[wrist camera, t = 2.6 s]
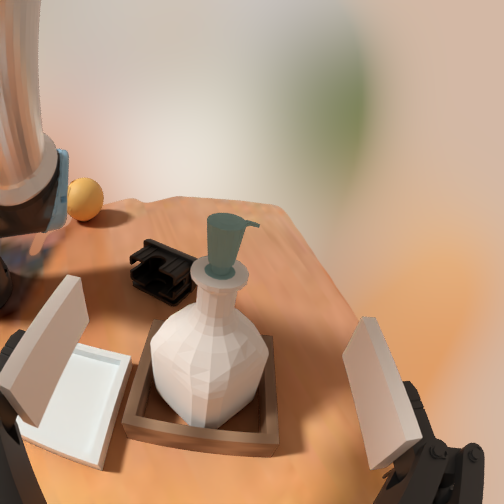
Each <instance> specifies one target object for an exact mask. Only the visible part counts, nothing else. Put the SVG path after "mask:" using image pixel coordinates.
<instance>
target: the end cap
mask: <svg viewBox="0 0 504 504" xmlns="http://www.w3.org/2000/svg"><path fill="white" fill-rule="evenodd" d="M196 260H197V258H195V257H193V256H190V255H188V254H185V253H183V252H181V251H178V250H176V249H173V248H171V247H169V246H166V245H164V244H162V243H159V242H157V241H154V240H152V239H146V240H144V248H142V249H140V250H139V251H137V252H136V253H134V254H132V255H131V256H130V264H131V265H132V264H134V263H135V262H137V261H139V262H141V263H140V264H139V265H138V266H136V267H135V268H133V269H132V270H130V274H131V279H132V280H133V286H134V287H136V288H138V289H140V290H141V291H143V292H145V293H147V294H149V295H151V296H153V297H155V298H157V299H159V300H161V301H163V302H165V303H166V304H168V305H170V306H173V307H174V306H177V305H178V304H179V303H180V302H181V301H182V300H183V299H184V298H185V297H187V296H188V295H189V293H190V292H192V291H193V290H194V288H195V287H196V285H197V284H196V283H195V282H194V281H193V280H192V278H191V272H190V271H191V266H192V264H193V262H194V261H196Z"/></svg>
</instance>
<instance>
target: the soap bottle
mask: <svg viewBox="0 0 504 504" xmlns="http://www.w3.org/2000/svg"><path fill="white" fill-rule="evenodd" d="M247 226H254V227H258V228H259V226H260V224H258V223H255V222H252V221H248V220H246V221H245V220H244V219H243V218H241V217H239V216H237V215H234V214H229V213H216V214H212V215H210V216H209V217H208V218H207V240H208V256H204V257H200V258H199V259H197V260H196V261H194V262H193V264H192V266H191V271H190V272H191V278H192V280H193V281H194V282H195V283H196V284H197V285H198V287H197V299H196V303H192V304H189V305H187V306H186V307H184V308H183V309H181V310H179V311H178V312H176V313H174V314H173V315H171V316H170V317H169V318H168V319H167V320H166V321H165V322H164V323H163V325H162V326H161V327H160V329H159V330H158V332H157V333H156V334H155V335H154V336H153V338H152V340H151V342H150V345H151V356H152V366H153V375H154V382H155V386H156V390H157V392H158V394H159V395H160V396H161V397H162V398H163V399H164V400H165V401H166V402H167V403H168V404H169V406H170V407H171V408H172V409H173V410H174V411H175V412H176V413H177V414H178V415H179V416H180V417H181V418H182V419H183V420H184V421H185V422H186V423H187V424H188V425H189V426H194V427H201V428H209V429H217V428H219V427H220V426H221V425H223V424H224V423H225V422H226V421H228V420H229V419H230V418H231V417H233V416H234V415H235V414H236V413H238V412H239V411H240V410H241V409H243V408H244V407H245V406H246V405H247V404H249V403H250V402H251V401H252V400H253V398H254V396H255V393H256V390H257V387H258V384H259V382H260V379H261V376H262V373H263V370H264V367H265V364H266V361H267V358H268V355H269V352H268V348H267V346H266V344H265V342H264V340H263V339H262V337H261V335H260V333H259V331H258V330H257V328H256V327H255V325H254V324H253V323H252V322H251V321H250V320H249V319H248V318H247V317H246V316H245V315H244V314H242V313H241V312H240V311H239V310H238V309H236V308H235V301H236V296H237V291H238V290H241V289H242V288H243V287H244V286H245V285H246V284H247V281H248V276H249V273H248V270H247V268H246V267H245V266H244V265H243V264H242V263H241V262H240V261H237V260H236V257H237V254H238V251H239V247H240V244H241V241H242V238H243V235H244V232H245V229H246V227H247Z"/></svg>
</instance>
